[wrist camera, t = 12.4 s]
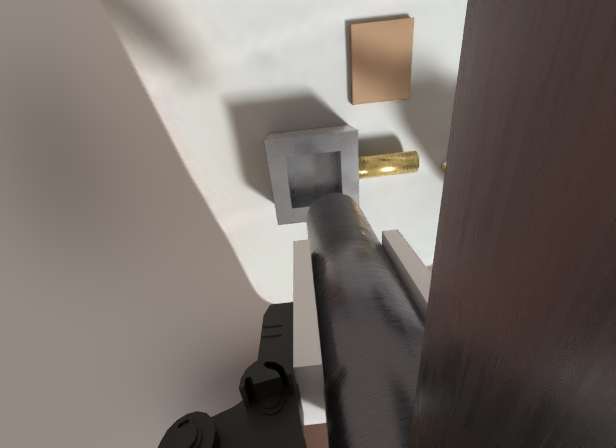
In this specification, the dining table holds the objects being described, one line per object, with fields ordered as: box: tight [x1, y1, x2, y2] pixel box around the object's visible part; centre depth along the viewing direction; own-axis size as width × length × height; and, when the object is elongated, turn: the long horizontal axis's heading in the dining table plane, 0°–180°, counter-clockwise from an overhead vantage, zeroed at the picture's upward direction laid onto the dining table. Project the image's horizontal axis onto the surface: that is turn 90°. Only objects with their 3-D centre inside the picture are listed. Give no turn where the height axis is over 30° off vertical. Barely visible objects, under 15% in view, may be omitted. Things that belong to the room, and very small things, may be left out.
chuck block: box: [264, 125, 419, 225], centre depth 30 cm, size 9×16×5 cm, turn 96°
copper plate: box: [350, 17, 414, 105], centre depth 27 cm, size 7×6×1 cm
